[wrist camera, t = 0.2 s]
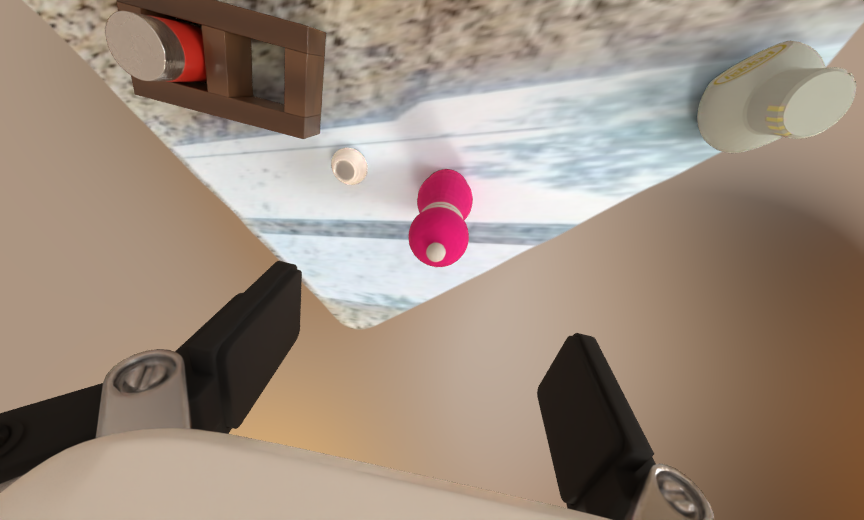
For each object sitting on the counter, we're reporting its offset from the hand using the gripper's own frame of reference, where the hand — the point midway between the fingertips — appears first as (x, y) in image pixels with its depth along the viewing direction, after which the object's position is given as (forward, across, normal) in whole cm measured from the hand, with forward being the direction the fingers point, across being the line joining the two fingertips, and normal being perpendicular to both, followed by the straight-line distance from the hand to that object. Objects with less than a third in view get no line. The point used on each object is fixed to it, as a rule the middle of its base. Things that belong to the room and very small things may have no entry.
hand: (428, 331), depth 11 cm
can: (+37, +33, -3) cm, 49 cm away
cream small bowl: (+37, +14, +6) cm, 40 cm away
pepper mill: (+37, 0, +6) cm, 37 cm away
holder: (+37, +29, -3) cm, 47 cm away
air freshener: (+37, -31, -13) cm, 50 cm away
